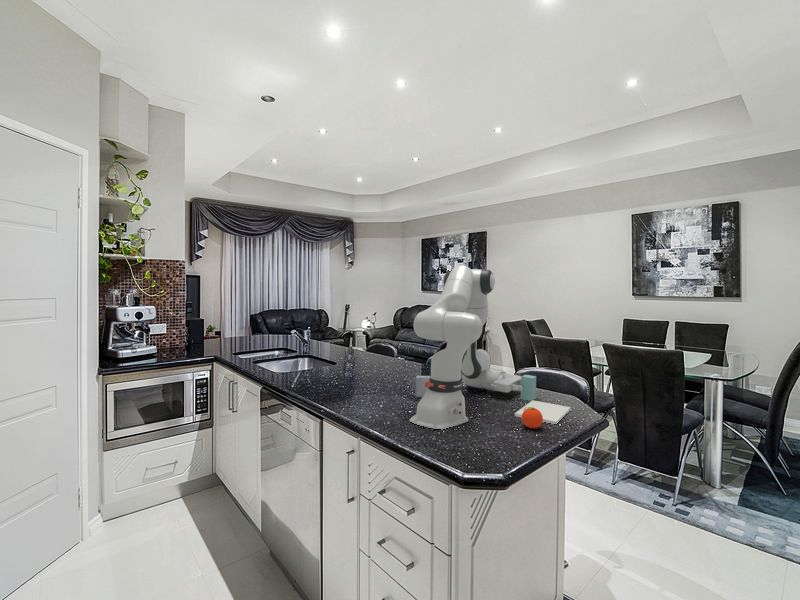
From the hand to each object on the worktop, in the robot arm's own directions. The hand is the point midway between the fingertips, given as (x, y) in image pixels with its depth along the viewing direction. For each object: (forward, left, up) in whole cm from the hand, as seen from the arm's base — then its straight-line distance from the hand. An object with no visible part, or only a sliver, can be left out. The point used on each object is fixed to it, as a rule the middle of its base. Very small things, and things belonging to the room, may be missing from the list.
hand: (526, 386), depth 172 cm
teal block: (0, -1, -6) cm, 6 cm away
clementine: (-35, -13, -6) cm, 38 cm away
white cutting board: (-16, -12, -6) cm, 21 cm away
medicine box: (-26, +36, -6) cm, 45 cm away
